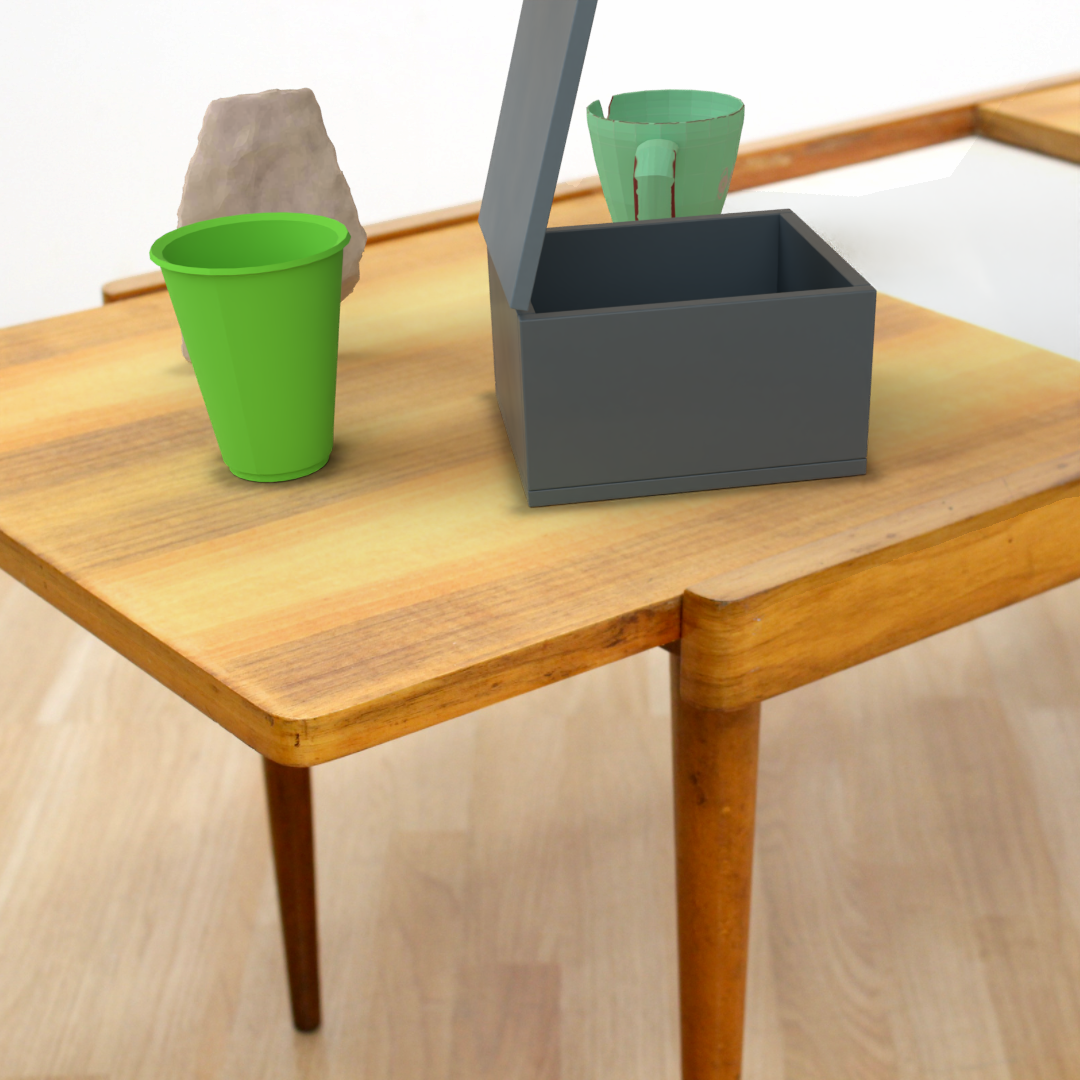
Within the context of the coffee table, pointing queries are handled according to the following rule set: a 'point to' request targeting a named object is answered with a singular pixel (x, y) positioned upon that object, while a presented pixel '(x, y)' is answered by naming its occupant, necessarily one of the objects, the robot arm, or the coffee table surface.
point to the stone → (270, 168)
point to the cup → (261, 333)
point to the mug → (666, 152)
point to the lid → (532, 138)
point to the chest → (684, 358)
